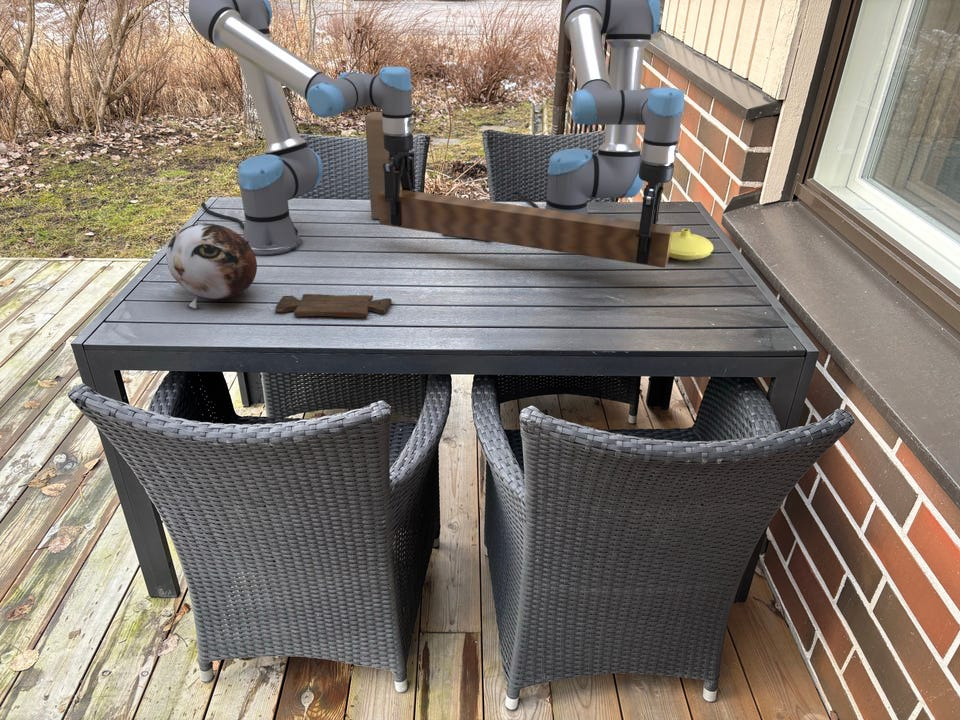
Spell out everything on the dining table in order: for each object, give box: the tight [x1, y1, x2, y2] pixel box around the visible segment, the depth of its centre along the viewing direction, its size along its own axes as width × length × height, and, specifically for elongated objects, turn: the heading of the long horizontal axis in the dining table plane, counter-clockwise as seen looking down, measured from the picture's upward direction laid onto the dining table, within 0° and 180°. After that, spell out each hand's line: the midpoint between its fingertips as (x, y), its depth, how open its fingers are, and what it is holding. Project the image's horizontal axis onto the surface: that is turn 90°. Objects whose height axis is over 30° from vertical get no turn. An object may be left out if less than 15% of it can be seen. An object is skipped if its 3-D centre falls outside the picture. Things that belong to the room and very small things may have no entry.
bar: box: [378, 190, 675, 269], centre depth 180 cm, size 76×6×8 cm, turn 69°
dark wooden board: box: [275, 293, 392, 318], centre depth 164 cm, size 26×2×10 cm
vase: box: [669, 228, 715, 261], centre depth 193 cm, size 16×16×7 cm
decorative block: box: [364, 111, 418, 220], centre depth 210 cm, size 8×15×30 cm, turn 82°
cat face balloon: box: [165, 222, 258, 309], centre depth 165 cm, size 22×18×20 cm
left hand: (401, 221), depth 192 cm, fingers closed on bar, 6 cm apart
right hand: (644, 257), depth 172 cm, fingers closed on bar, 6 cm apart
